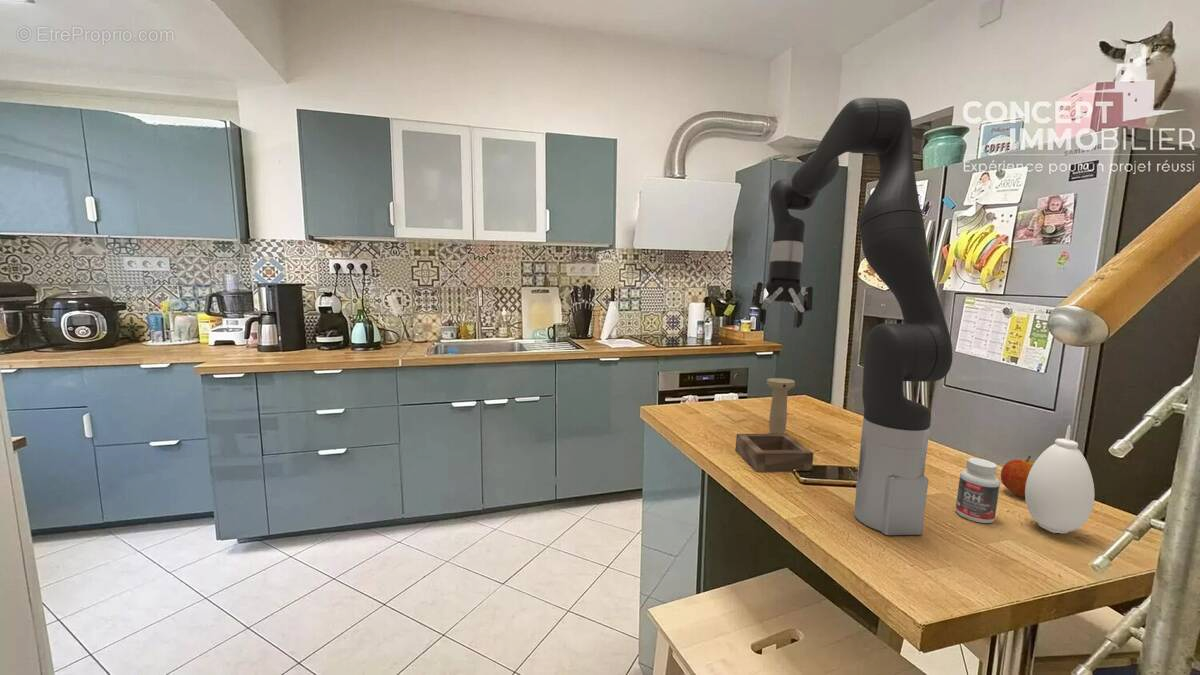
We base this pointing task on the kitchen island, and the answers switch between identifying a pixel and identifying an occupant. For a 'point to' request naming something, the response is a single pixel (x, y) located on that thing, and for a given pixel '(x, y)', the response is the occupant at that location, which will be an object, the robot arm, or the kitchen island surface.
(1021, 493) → the fruit
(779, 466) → the socket
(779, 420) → the handle
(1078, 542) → the kitchen island surface
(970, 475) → the pill bottle
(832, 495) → the kitchen island surface
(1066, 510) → the white air blower bulb
